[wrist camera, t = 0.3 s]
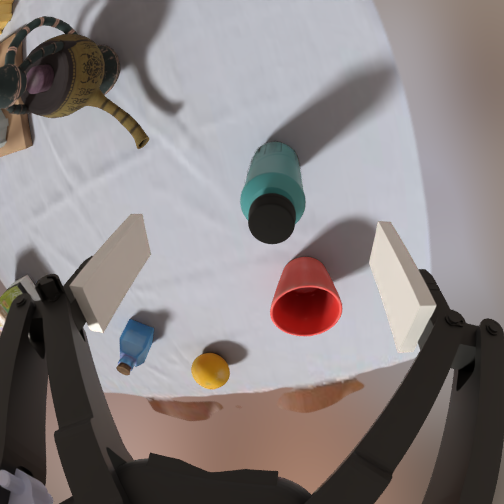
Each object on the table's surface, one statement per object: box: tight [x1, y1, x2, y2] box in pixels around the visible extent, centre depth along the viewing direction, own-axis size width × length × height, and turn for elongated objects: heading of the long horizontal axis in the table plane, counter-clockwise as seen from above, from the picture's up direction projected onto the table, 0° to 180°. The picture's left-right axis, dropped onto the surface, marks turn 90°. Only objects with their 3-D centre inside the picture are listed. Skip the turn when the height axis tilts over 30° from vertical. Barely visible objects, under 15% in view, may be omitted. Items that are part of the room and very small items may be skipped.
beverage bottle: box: [240, 141, 306, 244], centre depth 33 cm, size 6×7×20 cm
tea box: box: [0, 275, 41, 332], centre depth 59 cm, size 15×10×15 cm, turn 23°
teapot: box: [0, 16, 149, 149], centre depth 26 cm, size 12×25×23 cm, turn 40°
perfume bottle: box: [117, 319, 154, 375], centre depth 60 cm, size 6×6×12 cm
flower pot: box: [270, 257, 342, 336], centre depth 47 cm, size 11×11×10 cm
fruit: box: [191, 353, 230, 389], centre depth 64 cm, size 9×8×8 cm
